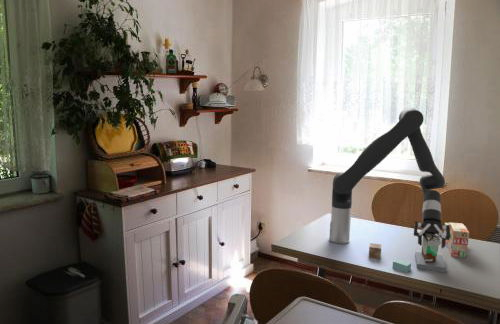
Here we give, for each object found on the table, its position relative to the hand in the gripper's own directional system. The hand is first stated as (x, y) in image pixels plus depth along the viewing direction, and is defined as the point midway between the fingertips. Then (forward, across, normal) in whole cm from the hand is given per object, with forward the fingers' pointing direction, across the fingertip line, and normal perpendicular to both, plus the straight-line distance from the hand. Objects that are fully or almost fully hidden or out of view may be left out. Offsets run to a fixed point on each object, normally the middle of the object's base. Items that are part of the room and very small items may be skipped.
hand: (431, 246), depth 174 cm
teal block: (+12, -12, 0) cm, 17 cm away
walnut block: (+5, -22, +6) cm, 24 cm away
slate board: (+5, 0, +6) cm, 8 cm away
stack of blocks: (-11, +12, +23) cm, 29 cm away
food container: (+4, 0, +5) cm, 6 cm away
